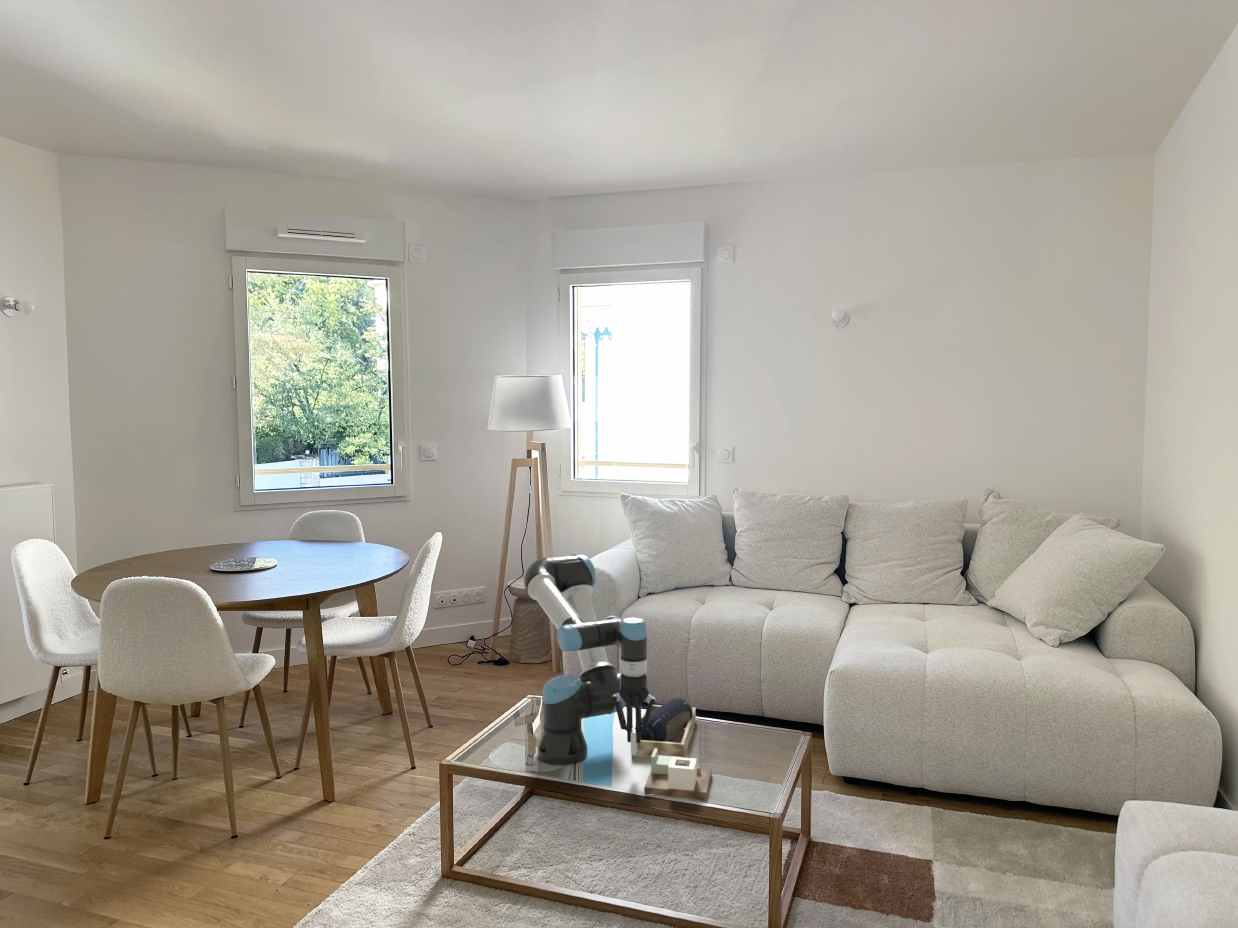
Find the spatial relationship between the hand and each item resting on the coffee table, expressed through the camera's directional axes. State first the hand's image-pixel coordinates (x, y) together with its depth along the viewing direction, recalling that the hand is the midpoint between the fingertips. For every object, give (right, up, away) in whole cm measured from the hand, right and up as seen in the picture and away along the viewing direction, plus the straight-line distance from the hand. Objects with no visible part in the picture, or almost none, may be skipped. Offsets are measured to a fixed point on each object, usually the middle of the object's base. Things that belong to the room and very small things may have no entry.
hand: (634, 752), depth 242 cm
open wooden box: (+10, -4, +26) cm, 29 cm away
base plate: (+12, -7, -6) cm, 15 cm away
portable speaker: (+10, -4, +26) cm, 29 cm away
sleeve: (+13, -5, -10) cm, 17 cm away
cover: (+9, -4, -2) cm, 10 cm away
